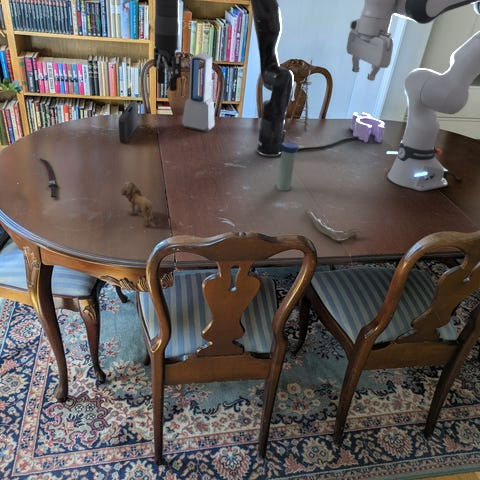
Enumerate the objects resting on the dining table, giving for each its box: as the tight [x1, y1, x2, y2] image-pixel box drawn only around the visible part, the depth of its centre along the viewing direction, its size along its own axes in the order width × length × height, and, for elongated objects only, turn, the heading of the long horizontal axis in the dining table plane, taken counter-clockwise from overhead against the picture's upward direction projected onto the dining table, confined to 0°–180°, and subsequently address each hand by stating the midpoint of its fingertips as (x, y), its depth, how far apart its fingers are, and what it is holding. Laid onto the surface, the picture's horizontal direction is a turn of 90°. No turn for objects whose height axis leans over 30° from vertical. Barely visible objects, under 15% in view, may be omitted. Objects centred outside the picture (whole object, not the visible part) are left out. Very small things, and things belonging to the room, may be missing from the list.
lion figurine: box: [119, 181, 159, 227], centre depth 134 cm, size 15×5×9 cm, turn 50°
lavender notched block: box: [349, 112, 386, 143], centre depth 214 cm, size 20×12×7 cm, turn 11°
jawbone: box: [303, 208, 364, 243], centre depth 139 cm, size 9×20×2 cm, turn 50°
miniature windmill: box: [288, 59, 313, 132], centre depth 208 cm, size 9×8×30 cm
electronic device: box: [181, 53, 216, 133], centre depth 194 cm, size 12×8×30 cm, turn 71°
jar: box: [276, 151, 297, 192], centre depth 157 cm, size 5×5×15 cm
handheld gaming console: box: [117, 101, 139, 143], centre depth 187 cm, size 23×3×10 cm, turn 178°
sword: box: [40, 158, 59, 198], centre depth 151 cm, size 31×3×1 cm, turn 26°
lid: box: [281, 141, 299, 154], centre depth 153 cm, size 5×5×2 cm
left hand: (166, 86), depth 148 cm, fingers open, 8 cm apart
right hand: (362, 75), depth 144 cm, fingers open, 8 cm apart
